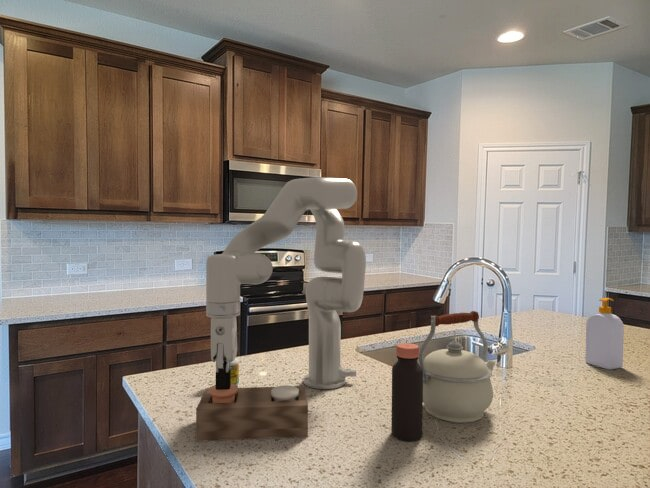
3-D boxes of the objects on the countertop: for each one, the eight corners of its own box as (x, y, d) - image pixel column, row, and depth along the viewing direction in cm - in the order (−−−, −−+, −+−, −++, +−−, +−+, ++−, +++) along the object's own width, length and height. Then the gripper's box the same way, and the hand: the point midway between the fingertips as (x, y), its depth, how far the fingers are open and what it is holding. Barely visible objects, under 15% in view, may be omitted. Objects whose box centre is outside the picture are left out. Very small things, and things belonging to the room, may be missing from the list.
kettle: (446, 435, 97) (448, 324, 96) (396, 406, 113) (397, 310, 112) (523, 414, 108) (525, 314, 108) (467, 390, 125) (469, 303, 124)
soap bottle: (624, 367, 146) (626, 299, 146) (610, 370, 144) (612, 300, 143) (598, 360, 155) (599, 296, 154) (585, 362, 152) (586, 297, 151)
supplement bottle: (234, 380, 132) (234, 349, 131) (241, 386, 127) (241, 353, 127) (217, 384, 129) (217, 351, 128) (223, 389, 124) (223, 356, 124)
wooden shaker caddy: (305, 413, 108) (305, 385, 108) (307, 436, 96) (308, 405, 96) (205, 417, 106) (205, 388, 105) (196, 441, 94) (196, 409, 93)
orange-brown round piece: (239, 407, 104) (239, 382, 103) (236, 419, 97) (236, 392, 97) (211, 408, 103) (211, 383, 103) (207, 420, 97) (206, 393, 96)
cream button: (298, 409, 105) (298, 385, 105) (299, 421, 99) (299, 395, 98) (271, 410, 104) (271, 385, 104) (270, 422, 98) (270, 395, 98)
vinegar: (415, 445, 93) (417, 351, 92) (386, 436, 96) (387, 346, 96) (426, 432, 98) (427, 344, 98) (398, 425, 102) (399, 340, 101)
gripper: (236, 314, 92) (236, 400, 93) (242, 303, 107) (242, 377, 108) (200, 315, 91) (200, 401, 92) (211, 303, 106) (211, 378, 107)
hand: (223, 388), depth 100 cm, fingers closed
